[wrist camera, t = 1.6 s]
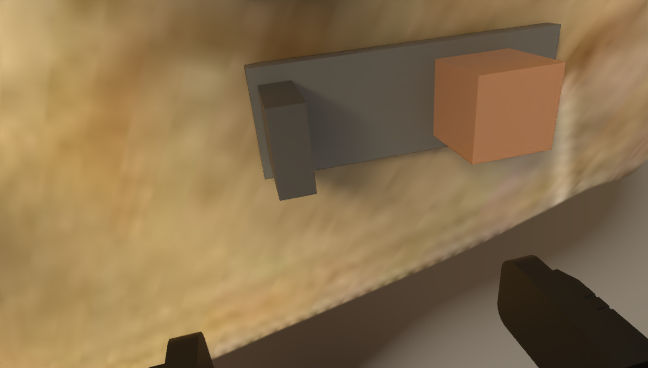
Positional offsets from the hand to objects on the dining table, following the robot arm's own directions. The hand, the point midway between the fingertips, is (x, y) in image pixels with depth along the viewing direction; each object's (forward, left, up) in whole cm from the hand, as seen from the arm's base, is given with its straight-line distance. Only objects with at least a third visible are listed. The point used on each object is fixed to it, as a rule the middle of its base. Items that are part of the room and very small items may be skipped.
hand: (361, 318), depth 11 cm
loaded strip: (+8, 0, -18) cm, 20 cm away
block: (+12, 0, -17) cm, 21 cm away
